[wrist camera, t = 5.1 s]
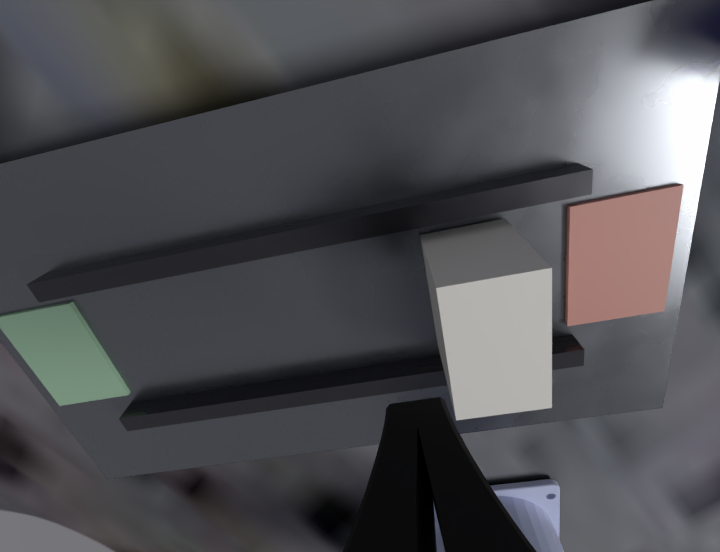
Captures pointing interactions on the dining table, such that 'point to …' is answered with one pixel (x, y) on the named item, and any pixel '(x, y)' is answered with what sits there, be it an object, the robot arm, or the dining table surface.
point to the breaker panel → (360, 242)
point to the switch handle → (491, 318)
